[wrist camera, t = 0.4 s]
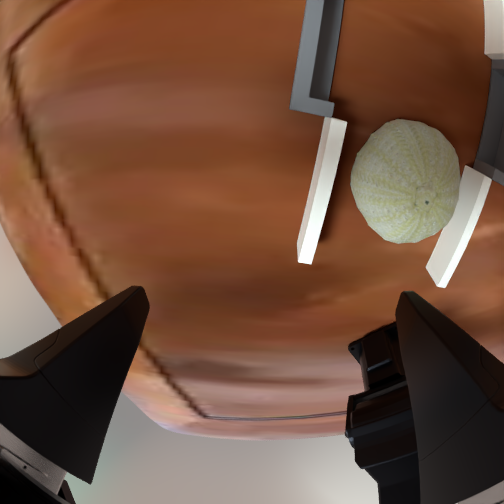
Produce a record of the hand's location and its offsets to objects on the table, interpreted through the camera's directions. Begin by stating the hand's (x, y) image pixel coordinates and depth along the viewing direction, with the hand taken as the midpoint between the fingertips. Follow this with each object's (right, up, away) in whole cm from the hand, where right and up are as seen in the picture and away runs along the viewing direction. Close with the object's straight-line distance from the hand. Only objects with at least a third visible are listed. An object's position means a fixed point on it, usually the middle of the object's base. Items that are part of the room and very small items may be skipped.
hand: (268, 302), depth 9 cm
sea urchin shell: (+11, +8, +10) cm, 17 cm away
